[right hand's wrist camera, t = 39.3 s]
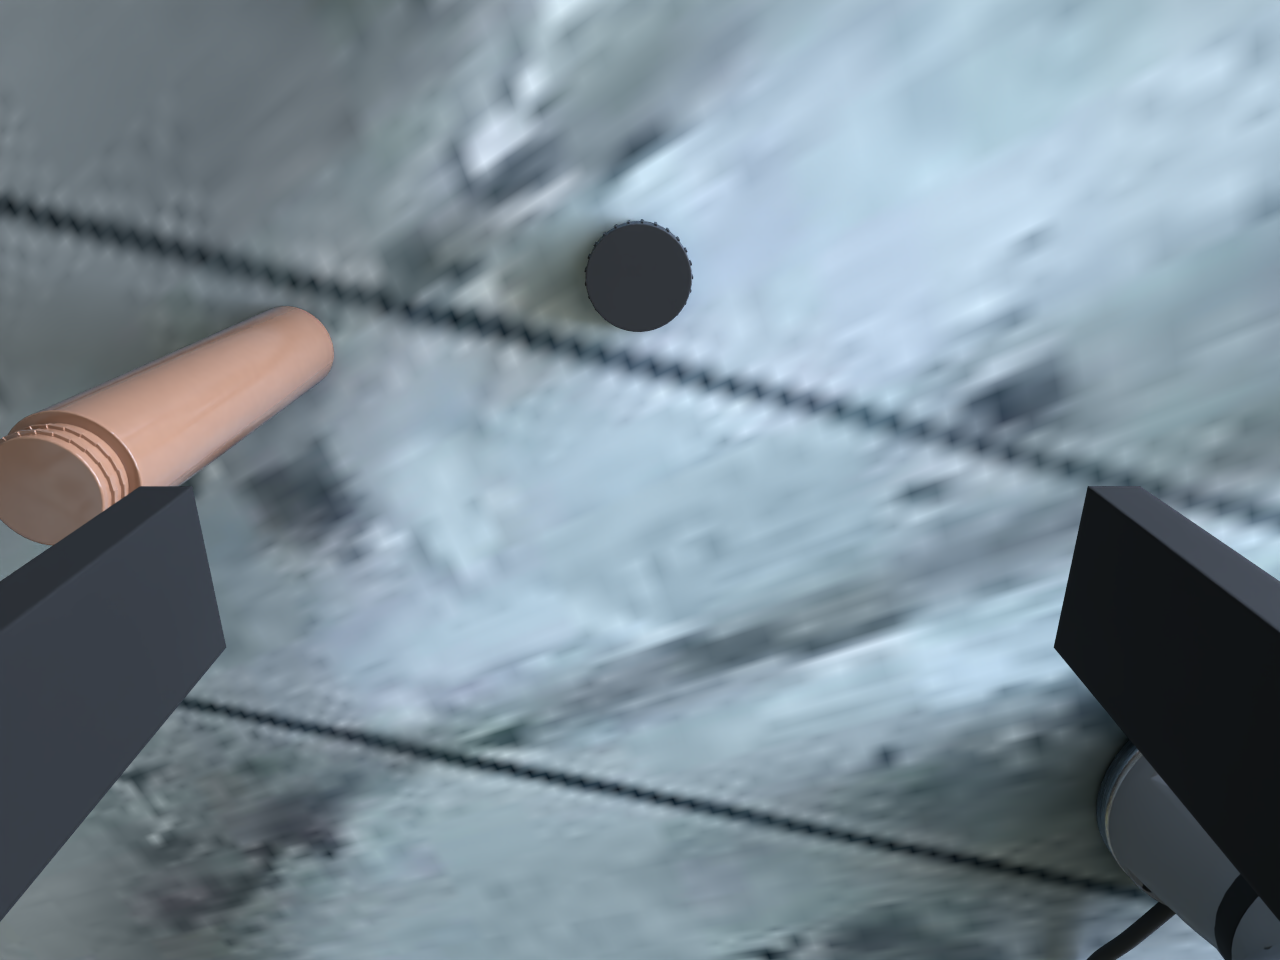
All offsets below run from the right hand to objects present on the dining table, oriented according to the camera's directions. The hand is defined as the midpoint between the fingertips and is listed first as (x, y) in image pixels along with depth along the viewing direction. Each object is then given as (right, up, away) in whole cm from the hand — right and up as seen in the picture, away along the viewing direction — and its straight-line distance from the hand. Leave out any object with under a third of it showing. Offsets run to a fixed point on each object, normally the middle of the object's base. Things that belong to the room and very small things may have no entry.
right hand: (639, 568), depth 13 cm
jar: (-17, +8, +29) cm, 34 cm away
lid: (0, +11, +26) cm, 28 cm away
